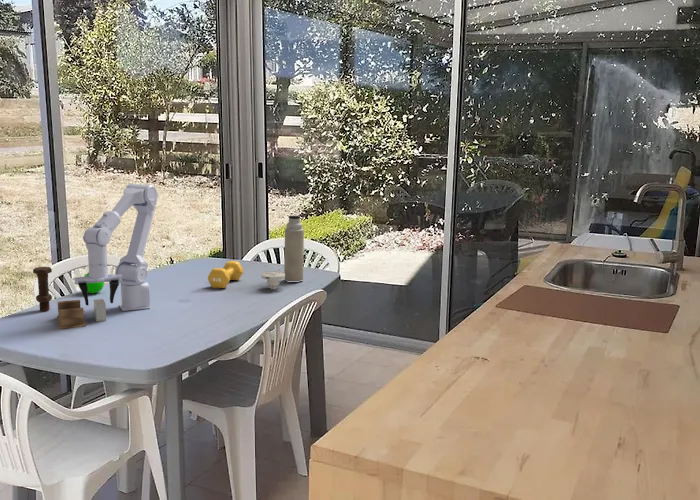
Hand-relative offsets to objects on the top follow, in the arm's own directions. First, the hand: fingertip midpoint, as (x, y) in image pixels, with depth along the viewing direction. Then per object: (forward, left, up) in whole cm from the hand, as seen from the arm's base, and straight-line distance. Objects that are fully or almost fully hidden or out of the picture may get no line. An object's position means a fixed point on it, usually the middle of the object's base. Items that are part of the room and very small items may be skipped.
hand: (99, 303), depth 217 cm
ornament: (-2, -36, -6) cm, 36 cm away
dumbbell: (-53, -32, -6) cm, 62 cm away
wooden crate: (+9, 0, -5) cm, 10 cm away
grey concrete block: (0, 0, -5) cm, 5 cm away
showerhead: (-68, -17, -6) cm, 70 cm away
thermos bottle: (-81, -27, -6) cm, 86 cm away
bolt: (+16, -17, -6) cm, 24 cm away
